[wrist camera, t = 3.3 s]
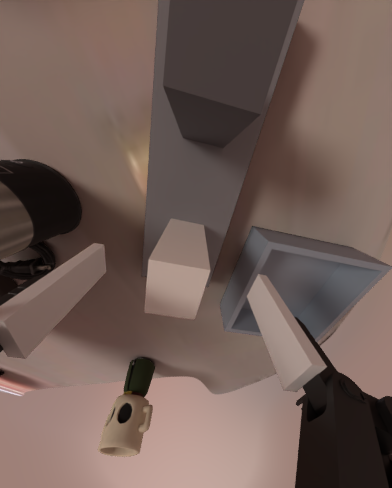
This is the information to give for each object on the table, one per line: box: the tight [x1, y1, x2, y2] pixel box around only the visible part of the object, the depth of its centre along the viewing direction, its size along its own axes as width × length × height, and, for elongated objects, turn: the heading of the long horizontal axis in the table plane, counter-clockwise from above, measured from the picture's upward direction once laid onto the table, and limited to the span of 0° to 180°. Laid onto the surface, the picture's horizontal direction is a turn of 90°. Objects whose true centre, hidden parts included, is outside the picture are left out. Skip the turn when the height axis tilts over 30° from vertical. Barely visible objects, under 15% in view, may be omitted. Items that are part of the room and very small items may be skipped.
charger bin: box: [220, 226, 392, 342], centre depth 22 cm, size 16×16×5 cm
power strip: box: [142, 0, 304, 287], centre depth 16 cm, size 28×10×3 cm, turn 168°
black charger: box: [163, 0, 298, 148], centre depth 9 cm, size 5×4×11 cm
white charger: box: [144, 218, 210, 320], centre depth 15 cm, size 5×4×11 cm
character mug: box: [98, 359, 155, 457], centre depth 30 cm, size 11×7×13 cm, turn 116°
